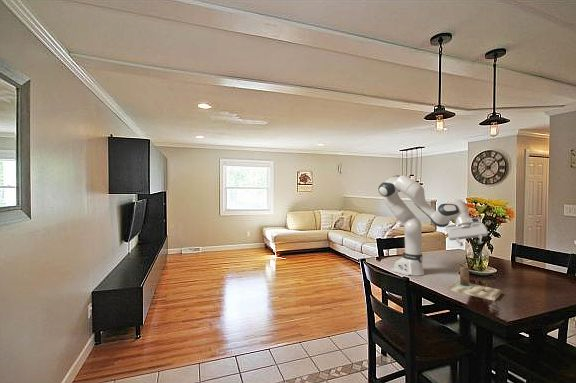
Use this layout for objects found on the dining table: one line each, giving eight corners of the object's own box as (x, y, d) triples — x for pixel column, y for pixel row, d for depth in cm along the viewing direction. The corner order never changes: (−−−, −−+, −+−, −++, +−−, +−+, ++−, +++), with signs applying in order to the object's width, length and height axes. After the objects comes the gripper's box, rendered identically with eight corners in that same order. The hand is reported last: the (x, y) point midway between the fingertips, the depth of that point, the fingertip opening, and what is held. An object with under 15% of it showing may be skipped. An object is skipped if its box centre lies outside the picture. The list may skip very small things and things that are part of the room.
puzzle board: (449, 290, 165) (449, 285, 165) (457, 284, 174) (457, 280, 174) (494, 300, 148) (494, 296, 148) (500, 294, 158) (500, 289, 158)
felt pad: (454, 285, 165) (454, 284, 165) (459, 282, 171) (459, 281, 171) (470, 289, 159) (470, 288, 159) (474, 285, 165) (474, 284, 165)
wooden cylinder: (459, 284, 165) (459, 268, 165) (461, 283, 168) (461, 266, 168) (467, 286, 162) (467, 269, 162) (470, 284, 165) (469, 268, 165)
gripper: (444, 224, 172) (450, 244, 164) (483, 218, 164) (491, 239, 156) (445, 228, 176) (450, 248, 169) (482, 223, 168) (490, 244, 160)
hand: (470, 244), depth 162 cm, fingers open, 8 cm apart
